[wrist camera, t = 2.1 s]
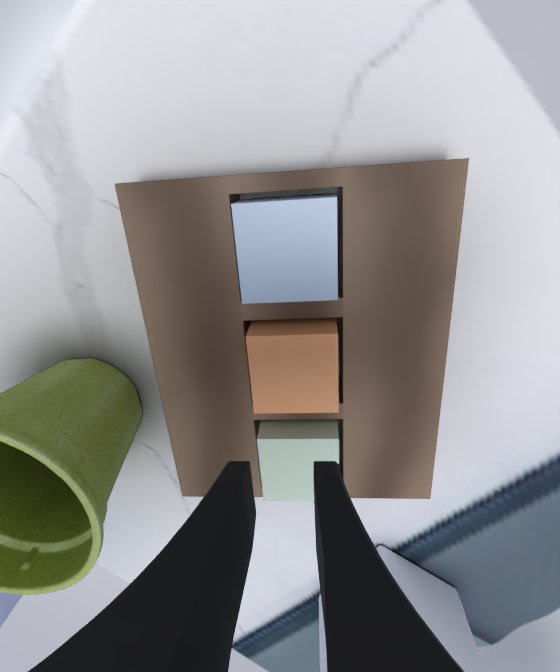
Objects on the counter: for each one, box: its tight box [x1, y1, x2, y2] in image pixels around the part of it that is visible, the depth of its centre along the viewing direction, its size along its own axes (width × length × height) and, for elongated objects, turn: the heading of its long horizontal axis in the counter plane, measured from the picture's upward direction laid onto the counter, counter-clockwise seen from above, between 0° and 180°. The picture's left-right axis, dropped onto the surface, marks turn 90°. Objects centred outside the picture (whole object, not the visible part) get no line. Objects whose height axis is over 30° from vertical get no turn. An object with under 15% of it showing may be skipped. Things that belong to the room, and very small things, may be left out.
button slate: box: [231, 194, 338, 304], centre depth 16 cm, size 4×4×2 cm
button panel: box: [115, 158, 469, 499], centre depth 20 cm, size 14×17×2 cm
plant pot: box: [0, 358, 143, 595], centre depth 19 cm, size 9×9×9 cm
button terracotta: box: [246, 317, 339, 414], centre depth 18 cm, size 4×4×2 cm
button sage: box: [257, 419, 339, 501], centre depth 21 cm, size 4×4×2 cm
